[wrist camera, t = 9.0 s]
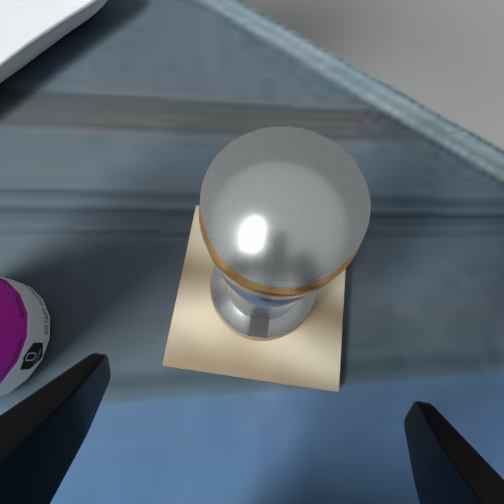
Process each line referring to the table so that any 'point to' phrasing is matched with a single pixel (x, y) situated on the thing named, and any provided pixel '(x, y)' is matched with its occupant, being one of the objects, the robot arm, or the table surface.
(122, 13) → the table surface
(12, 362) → the supplement can
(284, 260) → the grey tall flared piece
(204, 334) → the beige square tile
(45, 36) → the salad plate
